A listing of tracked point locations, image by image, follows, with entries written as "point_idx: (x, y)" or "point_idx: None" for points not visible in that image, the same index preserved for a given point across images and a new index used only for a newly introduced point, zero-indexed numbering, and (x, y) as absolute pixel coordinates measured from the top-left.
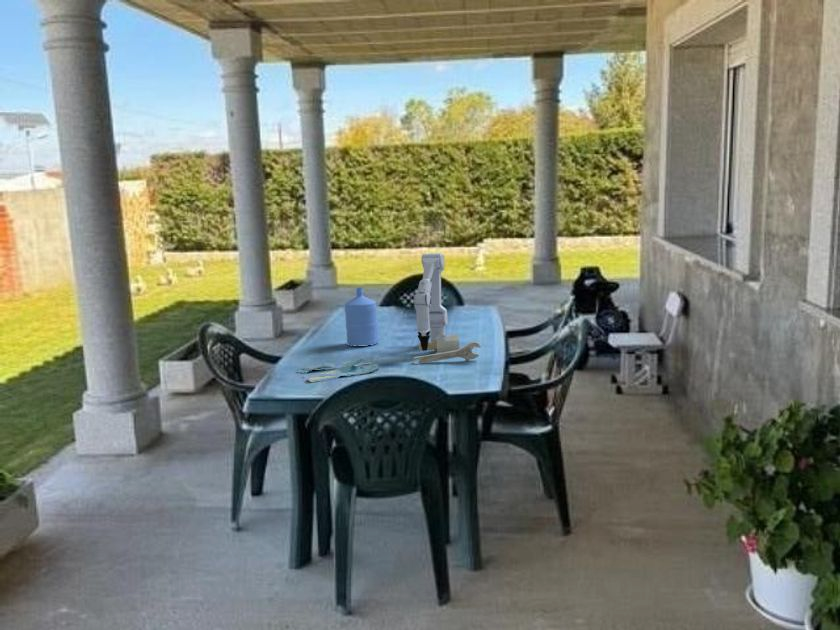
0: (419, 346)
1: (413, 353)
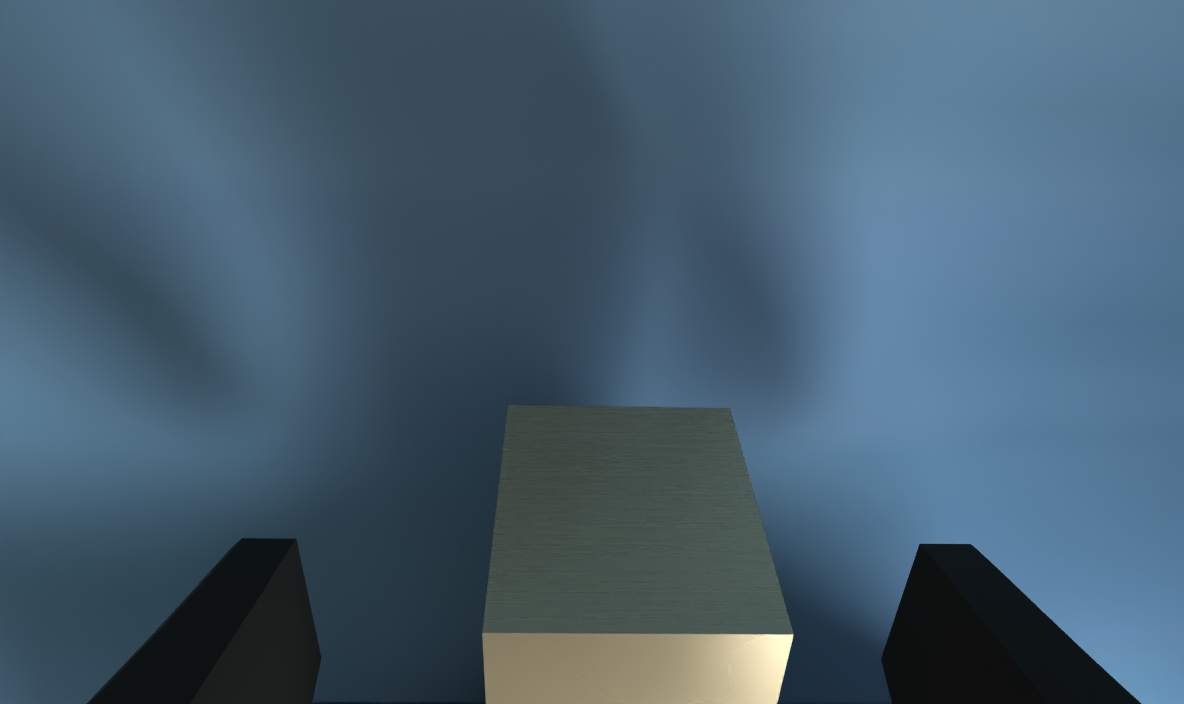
0: (498, 545)
1: (852, 101)
